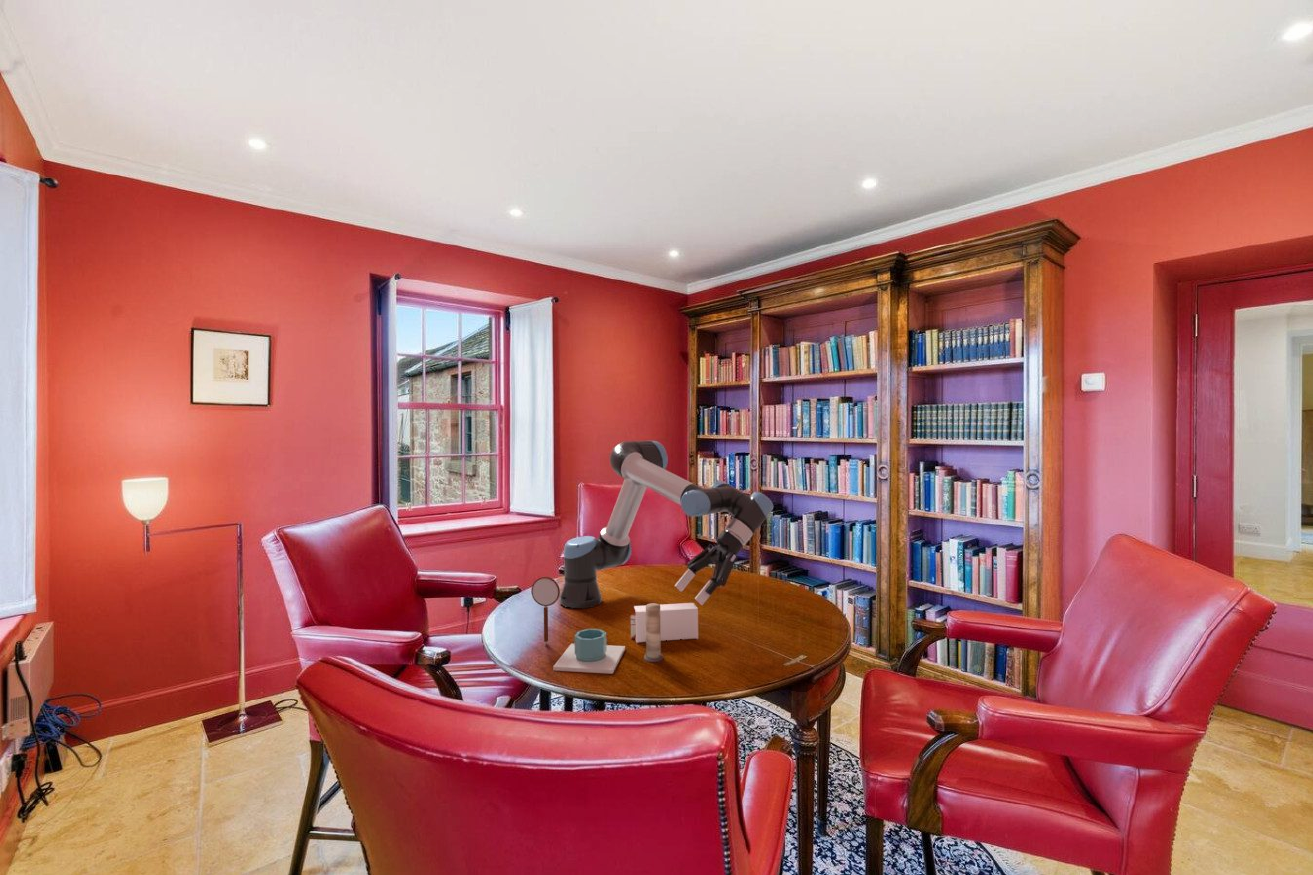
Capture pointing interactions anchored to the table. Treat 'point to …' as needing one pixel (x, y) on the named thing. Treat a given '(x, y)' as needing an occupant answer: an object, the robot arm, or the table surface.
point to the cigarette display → (668, 622)
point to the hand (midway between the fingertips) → (687, 595)
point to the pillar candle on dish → (653, 633)
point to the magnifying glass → (545, 597)
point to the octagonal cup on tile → (590, 654)
